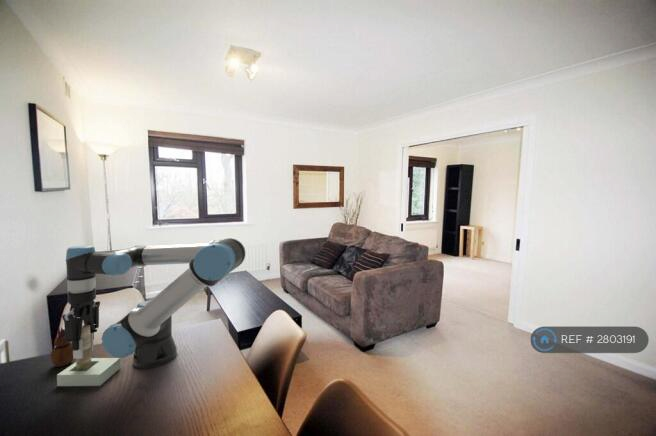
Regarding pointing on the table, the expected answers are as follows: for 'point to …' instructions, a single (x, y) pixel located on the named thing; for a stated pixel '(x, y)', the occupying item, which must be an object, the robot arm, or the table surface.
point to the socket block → (89, 373)
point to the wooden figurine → (61, 350)
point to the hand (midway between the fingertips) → (83, 354)
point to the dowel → (85, 350)
